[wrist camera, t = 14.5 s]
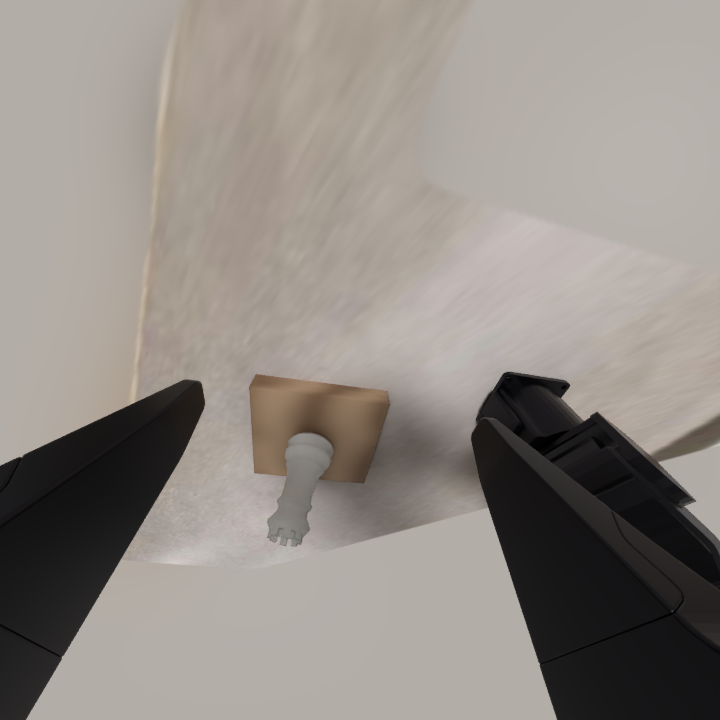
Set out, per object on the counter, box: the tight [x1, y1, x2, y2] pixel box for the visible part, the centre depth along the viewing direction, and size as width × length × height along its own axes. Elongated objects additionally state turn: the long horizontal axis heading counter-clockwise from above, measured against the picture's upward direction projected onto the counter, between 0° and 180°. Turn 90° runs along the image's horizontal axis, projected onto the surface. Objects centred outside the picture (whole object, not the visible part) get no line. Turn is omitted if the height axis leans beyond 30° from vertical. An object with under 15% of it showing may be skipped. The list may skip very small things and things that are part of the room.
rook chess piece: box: [267, 432, 334, 546], centre depth 22 cm, size 4×4×8 cm
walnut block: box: [249, 374, 390, 483], centre depth 27 cm, size 12×12×2 cm
